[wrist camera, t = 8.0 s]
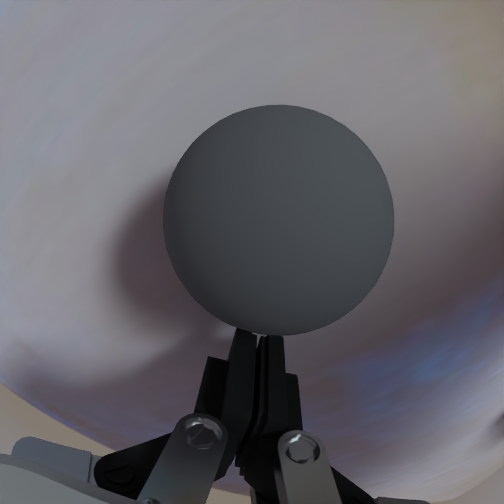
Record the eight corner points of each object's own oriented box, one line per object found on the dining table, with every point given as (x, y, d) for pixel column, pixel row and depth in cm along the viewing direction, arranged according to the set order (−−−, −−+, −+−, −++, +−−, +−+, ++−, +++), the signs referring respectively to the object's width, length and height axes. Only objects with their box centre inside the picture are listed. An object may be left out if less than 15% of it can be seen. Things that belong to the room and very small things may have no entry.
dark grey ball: (282, 397, 8) (295, 264, 12) (471, 298, 5) (404, 169, 9) (93, 299, 6) (173, 182, 11) (219, 69, 3) (268, 50, 7)
